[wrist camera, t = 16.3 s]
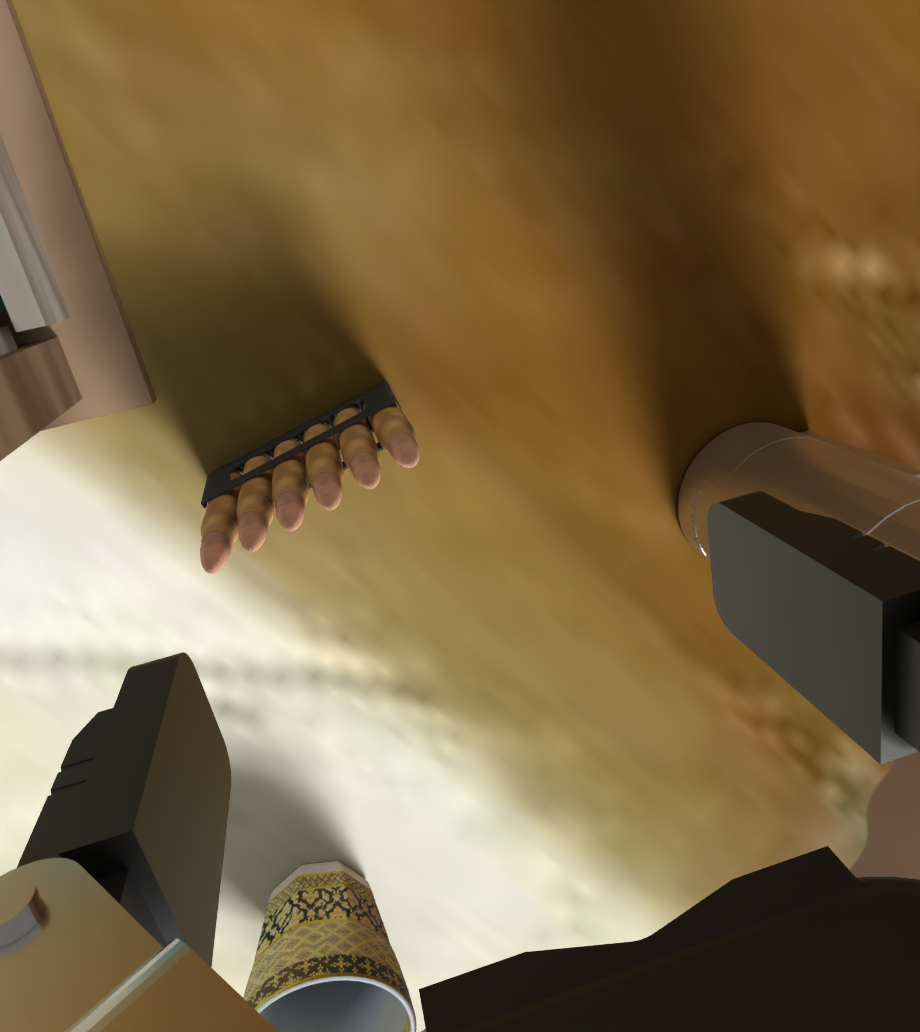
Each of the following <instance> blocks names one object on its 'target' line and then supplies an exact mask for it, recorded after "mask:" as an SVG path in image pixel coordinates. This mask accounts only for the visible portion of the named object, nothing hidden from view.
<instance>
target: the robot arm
mask: <svg viewBox="0 0 920 1032" xmlns="http://www.w3.org/2000/svg"><path fill="white" fill-rule="evenodd" d="M678 517H679V521H680V526H681V529H682V531H683V533H684V535H685V537H686V540H687V541H688V542H689V543H690V544H691V546H692V547H693V548H694V549H695V550H696V551H697V552H698V553H700V554H701V555H702V556H704V557H705V558H706V559H708V560H709V561H710V562H711V571H712V582H713V593H714V599H715V604H716V607H717V610H718V612H719V615H720V617H721V619H722V621H723V623H724V624H725V626H726V627H727V628H728V630H729V631H730V632H731V633H732V634H733V635H734V636H736V637H737V638H738V639H739V640H740V641H741V642H742V643H743V644H745V645H746V646H747V647H748V648H749V649H750V650H751V651H753V652H754V653H755V654H756V655H757V656H758V657H759V658H761V659H762V660H763V661H764V662H765V663H766V664H767V665H768V666H770V667H771V668H772V669H773V670H774V671H775V672H776V673H778V674H779V675H780V676H781V677H782V678H783V679H784V680H785V681H787V682H788V683H789V684H790V685H791V686H792V687H793V688H795V689H796V690H797V691H798V692H799V693H800V694H801V695H803V696H804V697H805V698H806V699H807V700H808V701H809V702H810V703H812V704H813V705H814V706H815V707H816V708H817V709H818V710H820V711H821V712H822V713H823V714H824V715H825V716H826V717H828V718H829V719H830V720H831V721H832V722H833V723H834V724H835V725H837V726H838V727H839V728H840V729H841V730H842V731H843V732H845V733H846V734H847V735H848V736H849V737H850V738H851V739H852V740H854V741H855V742H856V743H857V744H858V745H859V746H860V747H862V748H863V749H864V750H865V751H866V752H867V753H868V754H870V755H871V756H872V757H873V758H874V759H875V760H876V761H877V762H879V763H880V764H883V763H886V762H889V761H892V760H895V759H898V758H901V757H904V756H907V755H909V754H913V753H916V752H920V470H919V469H916V468H913V467H910V466H908V465H905V464H902V463H899V462H897V461H894V460H891V459H888V458H885V457H883V456H880V455H877V454H874V453H871V452H869V451H866V450H863V449H860V448H858V447H855V446H852V445H849V444H846V443H844V442H841V441H838V440H835V439H832V438H830V437H827V436H824V435H821V434H819V433H816V432H813V431H810V430H807V431H803V432H796V431H793V430H790V429H788V428H785V427H782V426H780V425H776V424H771V423H766V422H753V423H747V424H743V425H739V426H735V427H733V428H731V429H729V430H727V431H725V432H723V433H721V434H720V435H718V436H717V437H716V438H714V439H713V440H712V441H710V442H709V443H708V444H707V445H706V446H705V447H704V448H703V449H702V450H701V451H700V452H699V453H698V454H697V455H696V457H695V459H694V460H693V462H692V463H691V465H690V466H689V468H688V469H687V472H686V474H685V477H684V479H683V481H682V484H681V488H680V493H679V498H678ZM230 790H231V770H230V763H229V757H228V753H227V749H226V745H225V742H224V739H223V737H222V734H221V732H220V729H219V727H218V724H217V722H216V719H215V717H214V714H213V712H212V709H211V707H210V704H209V702H208V699H207V696H206V694H205V691H204V689H203V686H202V684H201V681H200V679H199V676H198V674H197V671H196V669H195V667H194V664H193V662H192V660H191V659H190V657H189V656H188V655H187V654H186V653H179V654H176V655H172V656H169V657H165V658H162V659H158V660H155V661H151V662H147V663H144V664H140V665H137V666H133V667H130V668H129V669H128V671H127V674H126V676H125V679H124V682H123V684H122V687H121V690H120V692H119V695H118V697H117V700H116V703H115V705H114V708H112V709H108V710H105V711H101V712H98V713H97V714H96V715H95V716H94V717H93V718H92V720H91V721H90V722H89V723H88V724H87V725H86V726H85V727H84V728H83V729H82V730H81V731H80V732H79V734H78V735H77V736H76V737H75V738H74V739H73V740H72V742H71V745H70V747H69V749H68V751H67V754H66V756H65V758H64V761H63V763H62V765H61V772H59V773H58V774H57V777H56V779H55V781H54V783H53V786H52V788H51V795H50V796H48V797H47V800H46V802H45V804H44V806H43V809H42V811H41V813H40V816H39V818H38V820H37V822H36V825H35V827H34V829H33V832H32V834H31V836H30V838H29V841H28V843H27V845H26V848H25V850H24V852H23V854H22V857H21V859H20V861H19V864H18V866H17V868H16V869H14V870H12V871H10V872H8V873H6V874H4V875H2V876H0V1032H278V1031H277V1030H276V1029H275V1028H274V1027H273V1026H272V1025H271V1024H270V1023H269V1022H268V1021H267V1020H266V1019H265V1018H264V1017H263V1016H262V1015H260V1014H259V1013H258V1012H257V1011H256V1010H255V1009H254V1008H253V1007H252V1006H251V1005H250V1004H249V1003H248V1002H247V1001H246V1000H245V999H244V998H243V997H242V996H240V995H239V994H238V993H237V992H236V991H235V990H234V989H233V988H232V987H231V986H230V985H229V984H228V983H227V982H226V981H225V980H224V979H223V978H221V977H220V976H219V975H218V974H217V973H216V972H215V971H214V970H213V969H212V968H211V966H212V957H213V948H214V938H215V929H216V920H217V910H218V901H219V892H220V882H221V873H222V864H223V855H224V845H225V836H226V827H227V817H228V808H229V799H230ZM419 992H420V998H421V1004H422V1010H423V1015H424V1021H425V1027H426V1029H424V1030H423V1031H422V1032H920V880H917V879H907V878H898V877H861V878H855V876H854V875H853V874H852V873H851V872H850V871H849V869H848V868H847V867H846V866H845V865H844V864H843V863H842V862H841V861H840V859H839V858H838V857H837V856H836V855H835V854H834V853H833V852H832V850H831V849H830V848H829V847H828V846H826V847H824V848H821V849H818V850H815V851H812V852H809V853H806V854H804V855H801V856H798V857H795V858H792V859H789V860H786V861H784V862H781V863H778V864H775V865H772V866H769V867H767V868H764V869H761V870H758V871H755V872H752V873H749V874H747V875H744V876H741V877H738V878H735V879H732V880H731V881H730V882H728V883H727V884H725V885H724V886H722V887H721V888H719V889H718V890H716V891H715V892H714V893H712V894H711V895H709V896H708V897H706V898H705V899H703V900H702V901H700V902H699V903H698V904H696V905H695V906H693V907H692V908H690V909H689V910H687V911H686V912H684V913H683V914H682V915H680V916H679V917H677V918H676V919H674V920H673V921H671V922H670V923H668V924H667V925H666V926H664V927H663V928H661V929H660V930H658V931H657V932H655V933H654V934H652V935H650V936H649V937H647V938H644V939H641V940H638V941H633V942H624V943H614V944H604V945H594V946H583V947H573V948H563V949H553V950H543V951H532V952H524V953H521V954H518V955H516V956H513V957H510V958H507V959H504V960H501V961H498V962H496V963H493V964H490V965H487V966H484V967H481V968H478V969H476V970H473V971H470V972H467V973H464V974H461V975H459V976H456V977H453V978H450V979H447V980H444V981H441V982H439V983H436V984H433V985H430V986H427V987H424V988H421V989H419Z"/></svg>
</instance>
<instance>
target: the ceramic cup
mask: <svg viewBox="0 0 920 1032" xmlns="http://www.w3.org/2000/svg"><path fill="white" fill-rule="evenodd" d="M244 999H245V1000H246V1001H247V1002H248V1003H249V1004H250V1005H251V1006H252V1007H253V1008H254V1009H255V1010H256V1011H257V1012H258V1013H259V1014H260V1015H262V1016H263V1017H264V1018H265V1019H266V1020H267V1021H268V1022H269V1023H270V1024H271V1025H272V1026H273V1027H274V1028H275V1029H276V1030H277V1031H278V1032H416V1017H415V1013H414V1009H413V1005H412V1002H411V998H410V995H409V991H408V988H407V985H406V982H405V980H404V977H403V974H402V971H401V968H400V965H399V963H398V960H397V958H396V956H395V953H394V951H393V949H392V947H391V945H390V943H389V939H388V936H387V933H386V930H385V927H384V924H383V922H382V919H381V916H380V913H379V911H378V908H377V906H376V902H375V899H374V896H373V893H372V891H371V888H370V886H369V883H368V882H367V881H366V880H365V879H364V878H363V877H362V876H360V875H359V874H357V873H356V872H354V871H353V870H351V869H350V868H348V867H347V866H345V865H344V864H343V863H341V862H339V861H332V862H322V863H313V864H304V865H301V866H300V867H298V868H297V869H296V870H295V871H294V872H293V873H292V874H290V875H289V876H288V877H287V878H286V879H285V880H284V881H283V882H281V883H280V884H279V885H278V886H277V887H276V888H275V889H274V890H273V892H272V893H271V894H270V898H269V902H268V905H267V910H266V914H265V919H264V923H263V927H262V931H261V935H260V939H259V943H258V947H257V952H256V956H255V961H254V964H253V967H252V970H251V973H250V977H249V980H248V983H247V986H246V990H245V994H244Z"/></svg>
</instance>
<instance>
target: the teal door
mask: <svg viewBox="0 0 920 1032" xmlns="http://www.w3.org/2000/svg"><path fill="white" fill-rule="evenodd" d="M6 311H7V309H6V307H5V304H4V302H3V299H2V297H1V295H0V313H2V312H6Z"/></svg>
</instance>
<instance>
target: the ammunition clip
mask: <svg viewBox="0 0 920 1032" xmlns="http://www.w3.org/2000/svg"><path fill="white" fill-rule="evenodd" d="M373 432H375V434H376V436H377V439H378V441H379V442H378V443H377V444H376V442H375V440H374V437H373V435H372V433H373ZM340 449H341V453H342V457H343V460H344V461H343V462H342V461H341V456H340V452H339V450H340ZM383 449H384V450H385V451H387V452H388V453H390V455H391V456H392V457H393V459H394V460H395V461H396V462H397V463H398V464H400V465H402V466H403V467H407V468H412V467H414V466H415V465H416V464H417V462H418V460H419V449H418V445H417V443H416V440H415V433H414V429H413V427H412V426H411V424H410V422H409V421H408V419H407V418H406V416H405V415H404V413H403V412H402V409H401V407H400V405H399V403H398V402H397V400H396V398H395V396H394V394H393V392H392V390H391V388H390V386H389V384H388V382H386V381H383V382H382V383H380V384H378V385H376V386H374V387H372V388H370V389H368V390H366V391H365V392H363V393H361V394H359V395H357V396H355V397H353V398H351V399H349V400H348V401H346V402H344V403H342V404H340V405H338V406H336V407H334V408H332V409H331V410H329V411H327V412H325V413H323V414H321V415H319V416H317V417H315V418H313V419H312V420H310V421H308V422H306V423H304V424H302V425H300V426H298V427H296V428H295V429H293V430H291V431H289V432H287V433H285V434H283V435H281V436H279V437H278V438H276V439H274V440H272V441H270V442H268V443H266V444H264V445H262V446H261V447H259V448H257V449H255V450H253V451H251V452H249V453H247V454H245V455H243V456H242V457H240V458H238V459H236V460H234V461H232V462H230V463H228V464H226V465H225V466H223V467H221V468H219V469H217V470H215V471H213V472H211V473H210V474H209V475H208V477H207V480H206V485H205V489H204V493H203V497H202V501H201V504H202V506H203V507H204V508H206V507H207V509H206V512H205V516H204V519H203V522H202V526H201V536H202V541H201V543H202V544H201V549H200V557H201V563H202V566H203V568H204V570H205V571H206V572H208V573H211V574H212V573H215V572H217V571H219V570H220V569H221V568H222V567H223V565H224V564H225V563H226V561H227V559H228V557H229V554H230V551H231V548H232V546H233V544H234V542H235V541H236V540H237V538H238V535H239V539H240V542H241V544H242V546H243V548H244V549H245V550H246V551H248V552H255V551H256V550H258V549H259V548H260V547H261V546H262V544H263V543H264V541H265V538H266V536H267V533H268V528H269V524H270V523H271V521H272V519H273V517H274V510H275V507H276V514H277V518H278V520H279V522H280V524H281V526H282V527H283V528H284V529H285V530H287V531H294V530H296V529H297V528H298V527H299V526H300V525H301V523H302V521H303V518H304V515H305V507H306V503H307V500H308V498H309V488H311V487H312V488H313V491H314V495H315V497H316V500H317V502H318V503H319V504H320V505H321V506H322V507H323V508H324V509H326V510H333V509H335V508H336V507H337V506H338V505H339V503H340V501H341V498H342V481H343V479H344V470H345V469H347V468H349V470H351V472H352V473H353V476H354V478H355V479H356V481H357V482H358V483H359V484H360V485H361V486H363V487H364V488H367V489H373V488H375V487H376V486H377V485H378V483H379V480H380V466H379V451H381V450H383ZM207 502H208V506H207Z"/></svg>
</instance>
